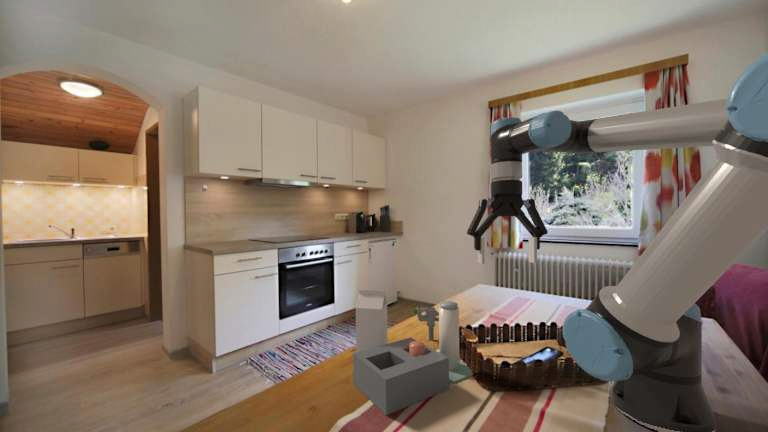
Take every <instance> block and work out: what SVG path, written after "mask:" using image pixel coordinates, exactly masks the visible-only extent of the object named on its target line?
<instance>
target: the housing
mask: <svg viewBox="0 0 768 432" xmlns="http://www.w3.org/2000/svg"><path fill="white" fill-rule="evenodd" d="M413 341H418V340H417V339H415V338H412V337H408V338H402V339H400V340H397V341H394V342H389V343H388V344H385V345H381V346H378V347H374V348H371V349H367V350H363V351H360V352H353V353H352V380H353V383H352V384H354V386H355V387H356V388H357V389H358V390H359V391H361V393H363V395H364V396H366V398H367V399H368V400H370V401H371V402H372V404H373V405H374V406H375V407H377V408H378V409H379V411H381V412H382V413H383V415H385V416H389V415H391V414H393V413H396V412H399V411H400V410H402V409H405V408H408V407H409V406H411V405H414V404H416V403H420V402H421V401H423V400H426V399H428V398H430V397H432V396H436V395H437V394H440V393H443V392H444V391H447V390H449V389H450V381H449V357H447V356H445V355H443V354H441V353H439V351H437V350H435V349H434V348H431V347H429V346H428V345H426V344H425V354H423V355H419V356H416V357H415V356H413V355H412V354H410V353H409V343H410V342H413Z"/></svg>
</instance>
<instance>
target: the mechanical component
mask: <svg viewBox="0 0 768 432" xmlns="http://www.w3.org/2000/svg"><path fill="white" fill-rule="evenodd" d="M413 313H414V315H417V318H418V321H420V322H426V323H427V324H426V326H427V327H428V341H430V342H431V341H432V342H433V341H434V339H435V337H434V335H435V334H434V332H435V331H434V329H435V328H434V327H436V322H439V311H437V309H436V307H435V306H416V308H414V312H413ZM422 313H424V314H422Z"/></svg>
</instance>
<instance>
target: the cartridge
mask: <svg viewBox="0 0 768 432" xmlns="http://www.w3.org/2000/svg"><path fill="white" fill-rule="evenodd" d="M458 305H459V304H458V303H457V302H455V301H449V300H448V301H441V302H440V303H439V306H438V312H439V316H438V318H439V321H438V333H439V334H438V337H439V338H438V339H439V341H438V345H439V347H438V349H439V351H438V352H439V353H441V354H443V355H445V356H447V357H449V371H455V370H457V369H459V360H460V308H459V307H458Z"/></svg>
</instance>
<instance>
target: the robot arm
mask: <svg viewBox="0 0 768 432" xmlns="http://www.w3.org/2000/svg"><path fill="white" fill-rule="evenodd" d="M489 141H490V179H491V180H492V182H491V183H490V195H491V198H490V200H489V199H486V198H484V199H479V201H478V208H477V210H476V212H475V215H474V217H472V220H471V222H470V225H469V227H468V229H467V230H466V234H467V235H468V236H471V237H473V241H474V244H473V245H474V246H473V248H474V250H475V251H477V263H479V264H481V265H485V262H486V261H485V259H486V256H485V237H483V235H484V234H485V233H486V232H487V230H489V228H490V227H491V226H492V224H493V223H494V222H495V220H496V219H498V218H499V217H515V218H516V219H517V220H518V222H520V224H521V225H522V226H523V227H524V228H525V229H526V231H527V232H528V233H529V234H530V236H528V262H530V263H532V264H537V263H538V250H540V248H541V238H542V237H543V236H544V235H547V234H548V229H547V227H546V226H545V223H544V221H543V219H542V217H541V215H540V212H539V211H538V209H537V207H536V200H535V198H528V199H524V200H523V181H522V180H521V179H522V178H523V154H528V153H532V152H536V151H539V152H540V151H544V152H552V153H553V152H554V153H567V154H575V155H579V156H586V155H593V154H596V153H605V152H623V151H624V152H626V151H642V150H644V151H645V150H660V149H661V150H663V149H681V148H699V147H701V148H703V147H713V148H714V151H715V154H716V159H715V160H714V161H713V163H712V164H711V165H710V166H709V168H708V169H707V170H706V171H705V172H704V174H703V175H702V177H701V178H700V179H699V180H698V182H697V183H696V185H694V187H693V188H692V190H691V191H690V192H689V193H688V195H687V196H686V197H685V198H684V200H683V201H682V202H681V204H679V206H678V207H677V209H676V210H674V213H672V215H671V217H670V218H669V219H668V220H667V221H666V223H665V224H664V226H662V228H661V229H660V230H659V232H658V233H657V235H656V236H655V237H654V238H653V240H652V241H651V242H650V243H649V245H648V246H647V247H646V248H645V250H643V252H642V253H641V255H640V256H639V257H638V259H637V260H636V261H635V262H634V264H633V265H632V266H631V267H630V269H629V270H628V271H627V273H625V275H624V277H623V278H622V279H621V281H619V283H618V284H617V285H607V286H604V287H602V288H601V289H600V291H599V292H597V294H596V295H595V297H594V298H593V300H592V301H591V302H590V304H589V305H588V306H587V307H585V308H583V309H582V308H579V309H576V310H574V311H573V312H571V313H569V314H568V315H567V316H566V318H564V321H563V324H562V337H563V339H564V341H565V347H566V349H567V352H568V353H569V355H570V357H571V358H572V359H573V360H574V361H575V363H576V364H577V365H578V366H579V367H580V368H581V369H582V370H583V371H584V372H585V373H587V374H588V375H590V376H592V377H594V378H595V379H599V380H600V381H605V382H613V384H612V387H611V402H613V403H612V404H614V405H615V406H616V407H617V408H619V409H620V410H622V411H623V412H625V413H627V414H629V415H630V416H632V417H633V418H635V419H637V420H638V421H641V422H643V423H647V424H650V425H653V426H657V427H661V428H665V429H669V430H674V431H680V432H681V431H682V432H712V431H714V430H715V429H716V430H717V420H716V415H715V413H714V410H713V409H712V406H711V403H710V402H709V398H708V397H707V394H706V391H705V389H704V387H703V381H702V377H703V376H702V375H703V374H702V371H703V368H702V364H703V361H702V360H703V358H702V357H703V355H702V354H703V351H702V350H703V349H702V348H703V347H702V346H703V345H702V343H703V341H702V340H703V338H702V337H703V334H702V331H703V330H702V329H703V328H702V327H703V324H704V323H703V320H702V315H701V309H700V306H699V305H697V304H696V302H697V301H698V300H699V299H701V297H702V296H703V295H704V294H705V293H706V292H707V291H708V290H709V289H710V288H712V286H713V285H714V284H715V283H716V282H717V281H718V280H719V279H720V278H721V277H722V276H723V275H724V274H725V273H726V272H727V271H728V270H729V269H730V268H731V267H732V266H733V265H734V264H735V263H736V262H737V261H738V260H739V259H740V258H741V257H742V256H743V255H744V254H745V252H747V251H748V249H750V248H751V247H752V246H753V245H754V244H755V243H756V242H757V241H758V240H759V239H760V238H761V237H762V236H763V235H764V234H765V232H767V230H768V51H767V52H766V53H764V54H763V55H761V56H760V57H758V58H757V59H755V61H753V62H752V63H751V64H750V65H749V66H747V68H746V69H745V70H744V71H742V73H740V75H739V76H738V77H737V78H736V80H735V82H734V83H733V85H732V86H731V89H730V90H729V93H728V95H727V97H726V98H723V99H716V100H709V101H702V102H696V103H690V104H683V105H677V106H671V107H664V108H657V109H651V110H645V111H638V112H632V113H626V114H619V115H612V116H607V117H601V118H600V117H599V118H595V119H589V120H574V119H573V120H571V119H570V118H569V117H568V115H566V114H564V112H563V111H561V110H551V111H547V112H543V113H539V114H538V115H535V116H533V117H531V118H528V119H526V120H523V121H522V120H521V118H518V117H514V116H511V117H510V116H509V117H503V118H499V119H496V120H494V121H493V122H492V123H491V127H490V136H489ZM489 206H490V207H491V209H492V210H491V211H490V213H488V216H486V218H485V220H484V221H483V222H482V223H481V224H480V222H481V221H482V219H483V217H484V214H485V212H486V210H487V209H488V208H489ZM522 207H524V208H525V209H526V211H527V212H528V213H527V214H528V216H529V217H530V219H531V220H530V219H529V218H528V216H527V215H526V213H525V212H524V211H523V209H522ZM479 225H480V226H479ZM614 405H613V406H614ZM615 406H614V407H615ZM616 407H615V408H616ZM617 408H616V409H617Z"/></svg>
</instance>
